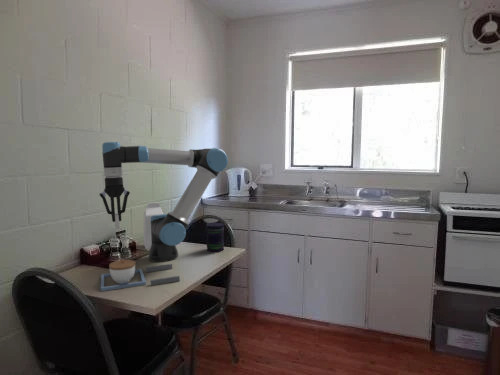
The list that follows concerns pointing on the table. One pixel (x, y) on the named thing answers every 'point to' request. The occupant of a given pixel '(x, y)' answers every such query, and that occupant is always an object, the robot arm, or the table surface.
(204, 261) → the table surface
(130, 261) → the lidded jar
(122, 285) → the frame
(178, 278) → the charcoal rails
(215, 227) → the storage jar
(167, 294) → the table surface
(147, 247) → the milk
